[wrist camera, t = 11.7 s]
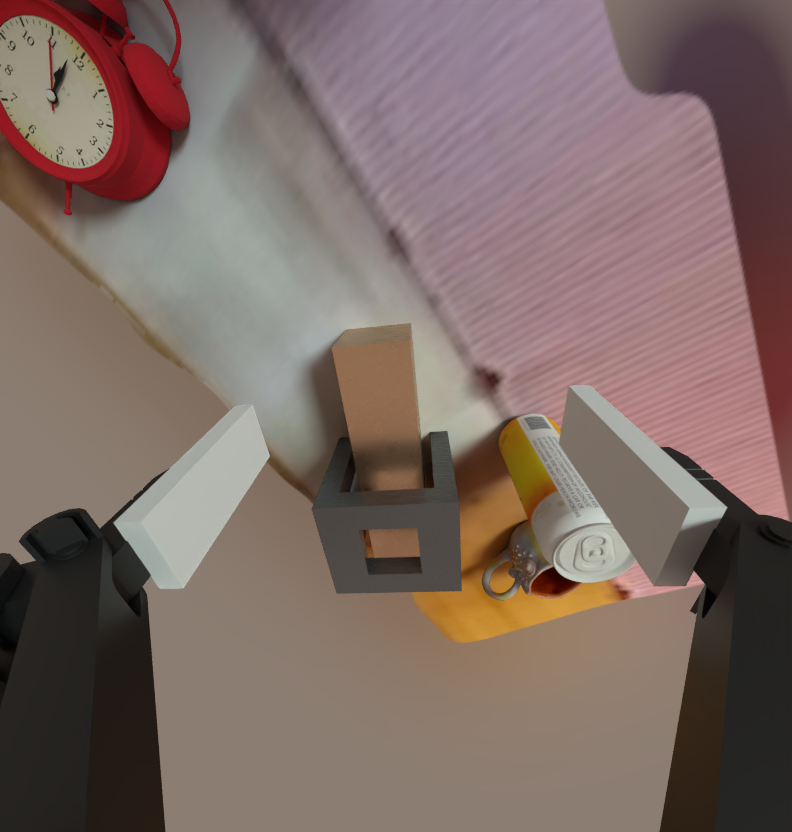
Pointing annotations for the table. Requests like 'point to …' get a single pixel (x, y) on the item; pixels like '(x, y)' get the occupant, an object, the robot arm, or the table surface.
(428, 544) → the collar block
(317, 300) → the table surface
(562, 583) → the mug
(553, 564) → the yellow can
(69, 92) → the alarm clock
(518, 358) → the table surface
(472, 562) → the table surface
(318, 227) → the table surface
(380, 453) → the banded wooden beam
